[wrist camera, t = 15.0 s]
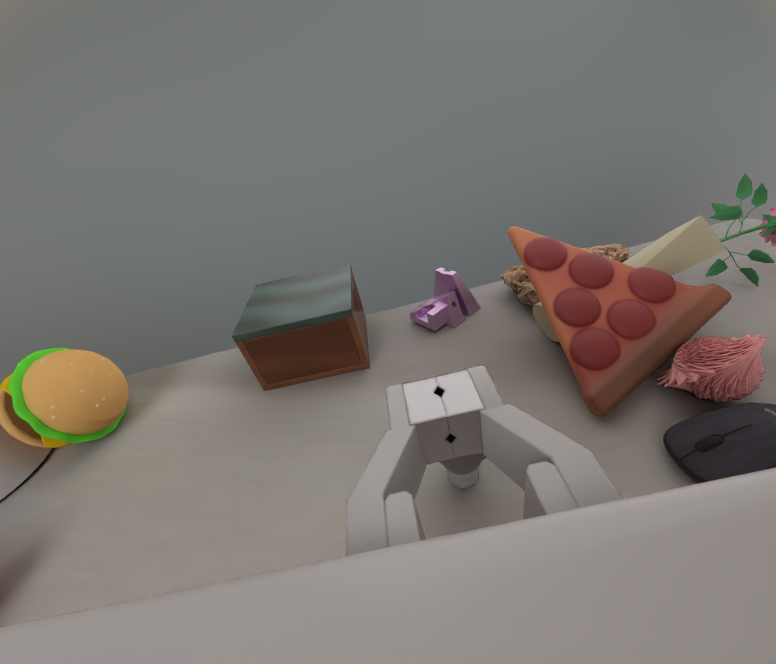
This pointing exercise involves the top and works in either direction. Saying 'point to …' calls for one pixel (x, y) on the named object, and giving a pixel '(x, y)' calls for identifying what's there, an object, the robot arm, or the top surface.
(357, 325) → the brown open box
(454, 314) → the letters
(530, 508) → the robot arm
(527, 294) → the rock
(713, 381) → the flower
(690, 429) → the computer mouse
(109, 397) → the hamburger
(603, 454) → the top surface
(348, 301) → the dark green box lid
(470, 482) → the light bulb
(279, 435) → the top surface
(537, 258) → the pizza slice
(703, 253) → the flower vase
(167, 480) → the top surface
